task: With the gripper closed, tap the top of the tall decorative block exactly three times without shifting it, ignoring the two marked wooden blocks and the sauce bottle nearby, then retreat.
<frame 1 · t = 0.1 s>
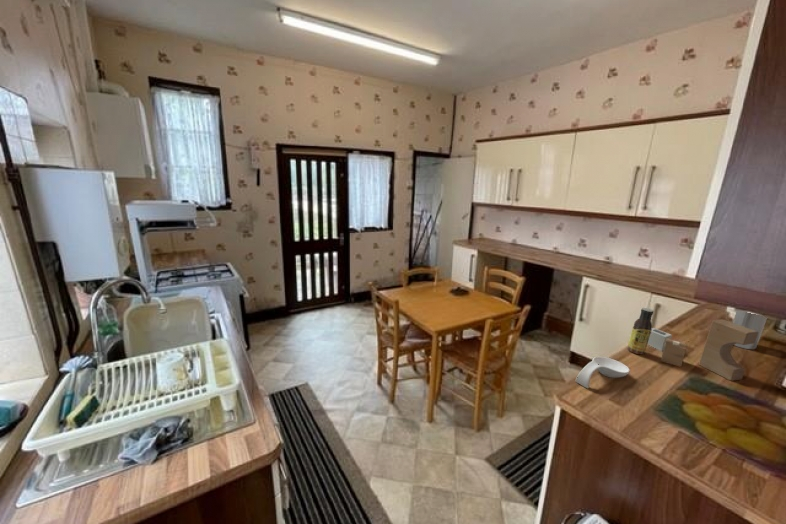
hand: (738, 305, 111), 29 cm above the table, fingers open, 8 cm apart
spoon rest: (600, 377, 118), on the table
walnut marked block: (671, 360, 130), on the table
decorative block: (719, 372, 122), on the table
sauce bottle: (635, 351, 136), on the table
grey marked block: (655, 346, 141), on the table
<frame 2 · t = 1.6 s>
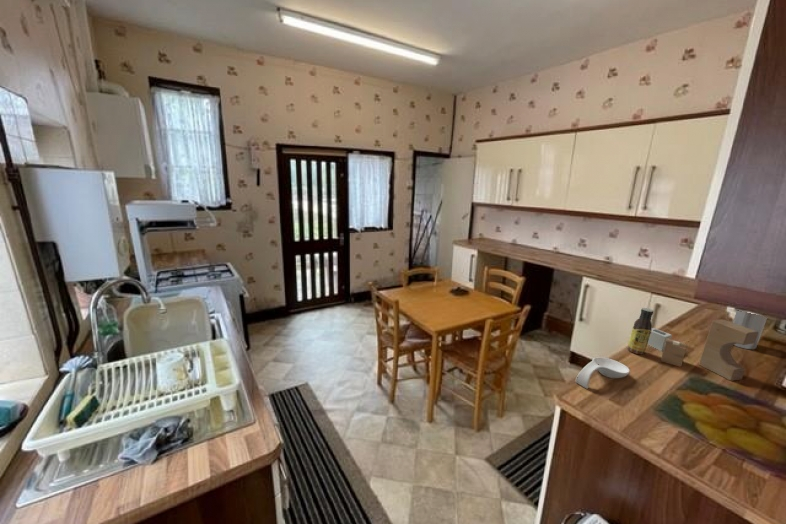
hand: (739, 310, 115), 26 cm above the table, fingers closed
nothing on the table moved.
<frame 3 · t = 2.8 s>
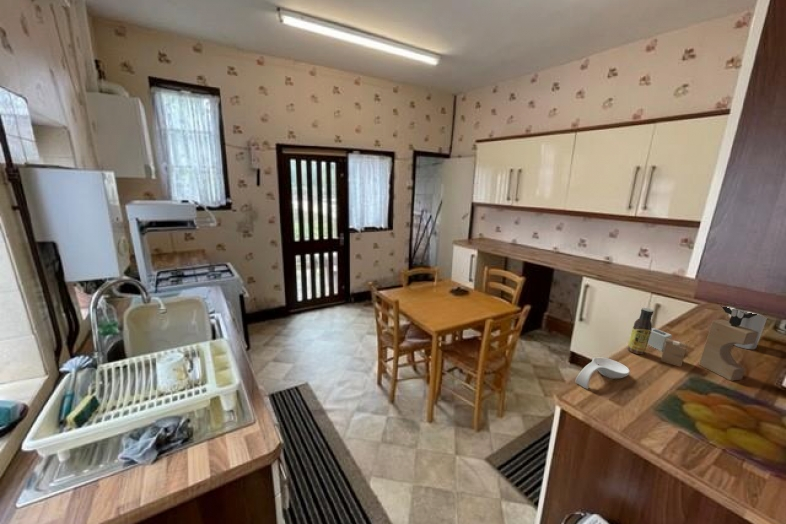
hand: (734, 325, 117), 20 cm above the table, fingers closed
decorative block: (719, 372, 122), on the table, touching gripper
everything else where it was.
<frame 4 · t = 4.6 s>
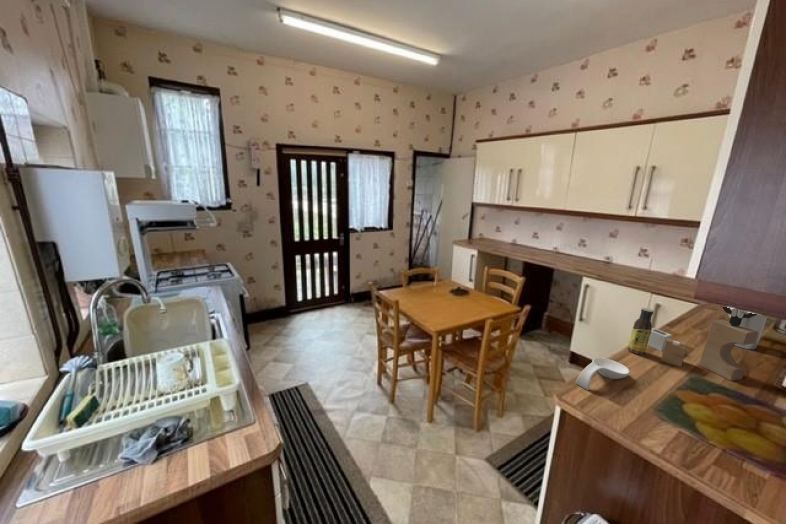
hand: (734, 325, 117), 20 cm above the table, fingers closed
nothing on the table moved.
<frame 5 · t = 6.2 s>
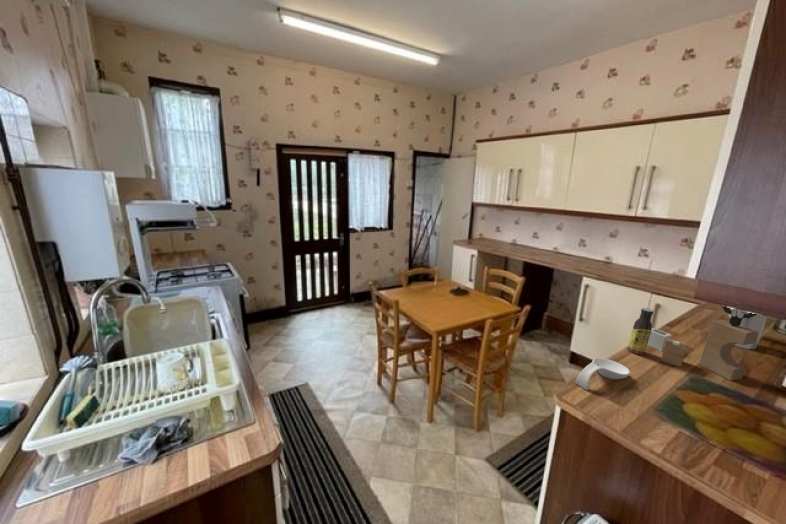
hand: (734, 325, 117), 20 cm above the table, fingers closed
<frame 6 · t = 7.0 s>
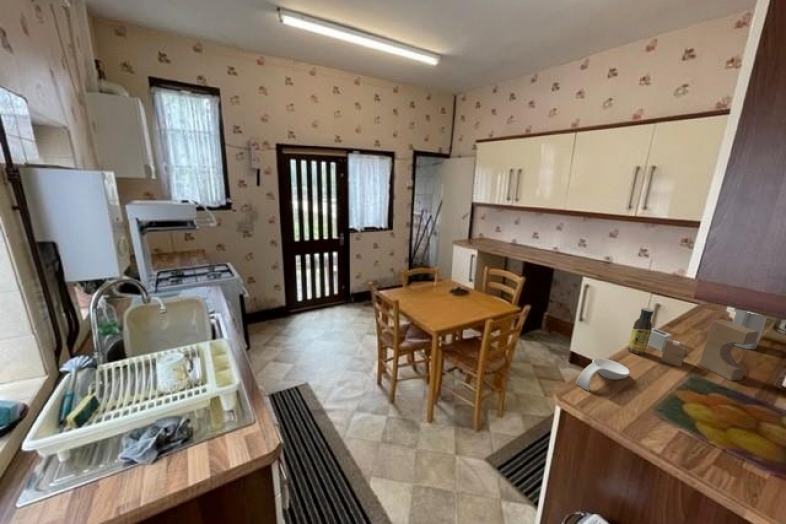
hand: (742, 299, 114), 31 cm above the table, fingers closed
decorative block: (719, 372, 122), on the table
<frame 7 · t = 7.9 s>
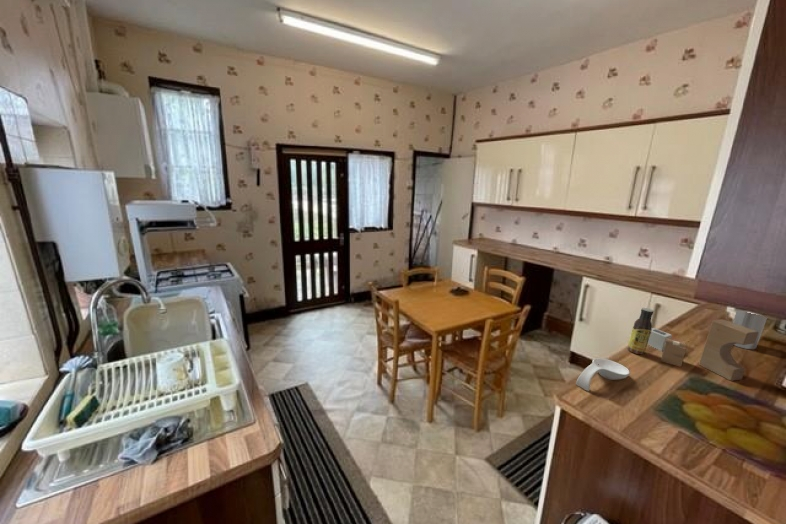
hand: (711, 277, 129), 34 cm above the table, fingers closed
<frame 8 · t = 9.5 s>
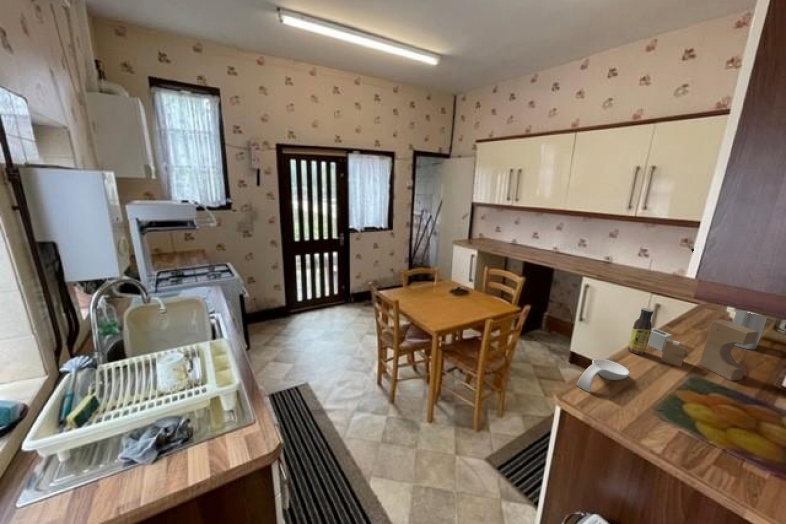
hand: (705, 272, 132), 35 cm above the table, fingers closed
at the end: decorative block moved 0.2 cm from its start; decorative block tilted 0°; walnut marked block moved 0.1 cm from its start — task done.
